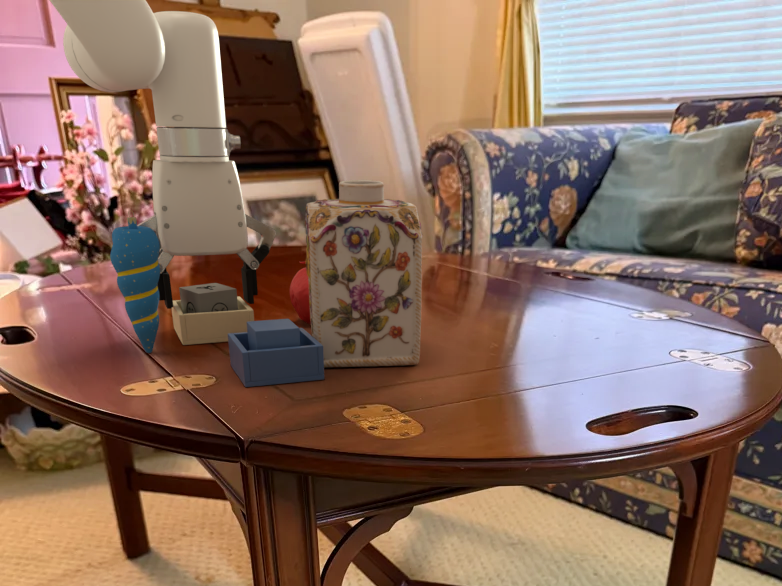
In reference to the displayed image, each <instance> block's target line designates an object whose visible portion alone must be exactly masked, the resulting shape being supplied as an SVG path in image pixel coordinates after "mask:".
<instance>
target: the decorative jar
mask: <svg viewBox="0 0 782 586" xmlns="http://www.w3.org/2000/svg"><path fill="white" fill-rule="evenodd" d="M338 190H339V191H338V198H328V199H326V198H324V199H317V200H316V201H311V202H307V203H306V206H305V215H304V227H305V235H306V237H305V242H306V251H305V260H304V261H305V262H306V264H305V267H306V270H307V275H308V283H309V304H310V319H311V324H310V326H311V327H310V330H311V336H312V337H314V338H315V339H316V340H317V341H318V342H319V343H320V344H322V345H323V354H324V369H325V368H357V367H358V368H363V367H397V366H398V367H399V366H400V367H401V366H417V365H418V364H419V363H420V355H421V331H422V330H421V327H422V283H423V282H422V281H423V278H422V277H423V274H422V273H423V269H422V268H423V267H422V266H423V264H422V262H423V257H422V256H423V245H422V243H423V241H422V240H423V237H424V235H423V232H422V223H421V221H420V219H419V211H418V208H417V206H416V205H415V204H414V203H411V202H406V201H404V200H399V199H394V198H393V199H391V198H385V182H383V181H380V180H373V179H372V180H371V179H350V180H342V181H340V182H339V184H338Z"/></svg>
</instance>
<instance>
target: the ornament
mask: <svg viewBox="0 0 782 586" xmlns="http://www.w3.org/2000/svg"><path fill="white" fill-rule="evenodd" d="M130 212H131V213H132V215H133V216H130ZM127 215H128V217H126V221H127V226H126V225H125V226H118V227H115V228H114V229H113V230H112V233H111V241H112V245H111V250H110V255H109V258H110V259H109V260H110V262H111V265H112V267H113V269H114V270H115V272H116V274H117V277H116V285H117V287H118V289H119V291H120V293H121V294H122V297H123V298H124V308H125V312H126V315H127V316H128V318H129V321H130V323H131V325H132V328H133V331H134V334H135V335H136V336H137V338H138V340H139V343H140V344H141V346H142V348H143V350H144V352H145V353H147V354H151V353H153V351H154V347H155V342H156V339H157V334H158V330H159V326H160V314H159V312H158V307H159V304H160V301H159V290H158V287H157V284H158V281H159V277H160V266H159V263H158V261H157V259H158V256H159V250H160V249H161V247H160V243H159V239H158V237H157V235H156V231H155V230H154V231H153V230H152V229H151V228H149V227H144V226H137V225H138V220H137V217H135V213H134V212H133V210H129V211H128V212H127Z"/></svg>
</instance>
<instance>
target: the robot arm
mask: <svg viewBox="0 0 782 586" xmlns="http://www.w3.org/2000/svg"><path fill="white" fill-rule="evenodd" d="M49 2H50V3H51V4H52V6H53V7H54V9H55V10H56V12H58V14H59V16H61V18H62V19H63V20H64V22H65V23H66V26H65V29H64V32H63V37H62V38H63V39H62V41H63V42H62V45H63V52H64V55H65V58H66V61H67V63H68V65H69V67H70V68H71V70H72V71H73V72H74V74H75V76H77V78H78V79H80V80H81V81H82V82H83V83H85V84H86V85H87V86H89V87H91V88H93V89H95V90H97V91H101V92H106V93H120V92H126V91H135V90H146V89H147V90H148V89H150V90H151V96H152V104H153V112H154V119H155V126H156V128H155V129H156V136H157V138H156V139H157V144H158V145H157V146H158V153H159V159H153V160H152V170H151V171H152V176H151V185H152V203H153V205H152V206H153V215H152V216H150V217H148V218H147V219H145V220H143V221H142V222H140V223H137V226H144V227H149V228H151V229H152V230H153V231H154V232H155V234H156V235H157V237H158V239H159V243H160V250H159V256H158V259H157V261H158V263H159V266H160V277H159V281H158V284H157V287H158V290H159V302H160V301H161V302H162V301H164V305H165V308H166V309H167V310H170V309H171V310H172V307H173V292H172V285H171V276H170V273H169V272H168V271H167V270H168V269H167V267H168V265H169V264H171V261H172V260H173V258H174V257H187V256H188V257H191V256H192V257H193V256H215V255H216V256H217V255H219V256H220V255H235V254H236V255H237V256H238V258H240V260H241V261H242V263H243V266H242V267H241V268H240V272H241V282H242V285H241V286H242V296H243V300H244V301H245V302H246V303H247V304H248V305H254V304H255V297H254V296H258V293H259V291H258V278H257V277H258V275H257V270H258V269H259V267H260V265H261V263H262V262H263V261H264V260H265V259H266V258H267V256H268V255H269V254H270V250H271V247H272V245H273V243H274V241H275V238H276V237H277V231H276V229H275V228H273V227H271V226H269V225H267V224H266V223H263V222H262V221H259V220H257V219H256V218H254V217H252V216H250V215H248V214H246V210H245V203H244V198H243V191H242V185H241V182H240V177H239V173H238V169H237V164H236V162H235V160H230V155H231V152H232V151H234V150H240V149H241V146H242V145H241V144H242V142H241V137H240V135H234V134H231V133H230V132H229V130H228V129H227V119H226V110H225V109H226V107H225V98H224V97H225V96H224V85H223V84H224V83H223V73H222V60H221V50H220V38H219V31H218V28H217V25H216V23H215V21H214V20H213V19H211V18H210V16H207V15H205V14H201V13H198V12H192V11H191V12H190V11H179V10H165V11H164V10H163V11H156V12H153V10H152V8H151V7H150V4H149V3H148V1H147V0H49ZM248 229H250V230H252V231H254V232H256V233H257V234H259V235H260V239H259V243H258V245H256V247H255V248H254V249H253V250H252V251H251V252H250V251H249V249H248V245H249V236H248Z"/></svg>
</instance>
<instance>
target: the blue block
mask: <svg viewBox="0 0 782 586" xmlns="http://www.w3.org/2000/svg"><path fill="white" fill-rule="evenodd" d="M299 328H300V327H299V326H298V325H296V324H295V323H294V322H293V321H292V320H291V319H290V318H278V319H265V320H254V321H249V322H247V333H248V344H249V350H261V349H273V348H285V347H297V346H300V332H299Z"/></svg>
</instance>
